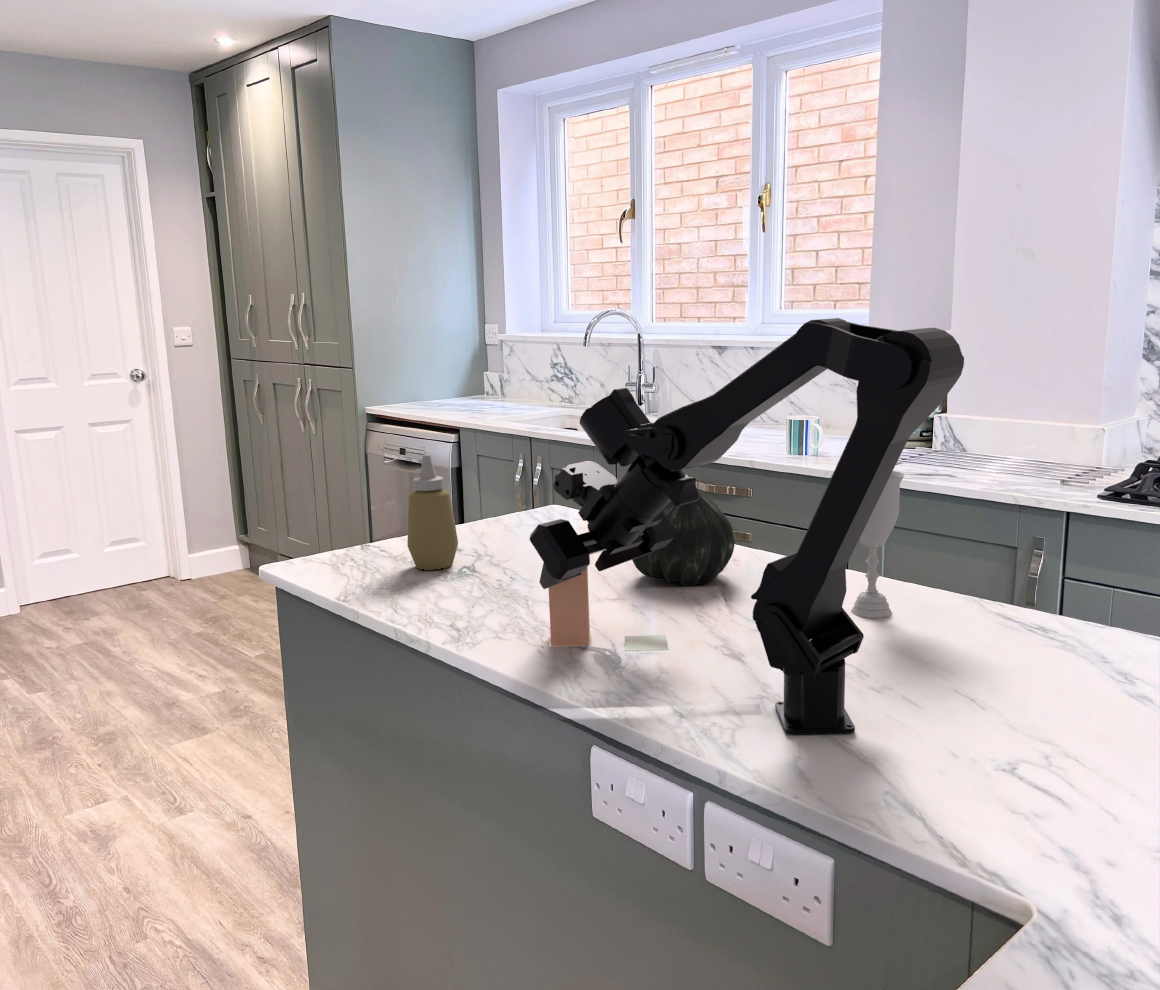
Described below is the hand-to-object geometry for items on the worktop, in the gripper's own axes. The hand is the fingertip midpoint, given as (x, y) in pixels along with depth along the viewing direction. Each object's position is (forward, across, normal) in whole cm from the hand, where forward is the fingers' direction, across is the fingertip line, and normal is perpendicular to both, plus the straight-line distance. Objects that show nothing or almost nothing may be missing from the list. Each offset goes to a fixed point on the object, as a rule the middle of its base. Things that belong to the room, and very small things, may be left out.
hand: (570, 576), depth 114 cm
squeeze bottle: (+37, -11, -24) cm, 46 cm away
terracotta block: (+6, 0, +5) cm, 8 cm away
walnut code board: (+3, -2, +9) cm, 10 cm away
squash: (+11, -30, +1) cm, 32 cm away
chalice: (-9, -33, +21) cm, 40 cm away
